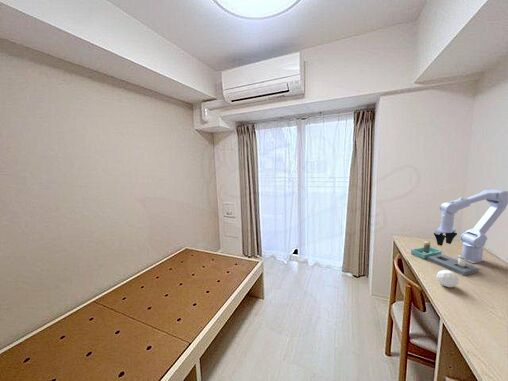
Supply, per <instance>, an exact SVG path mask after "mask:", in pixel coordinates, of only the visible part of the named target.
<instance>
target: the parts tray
mask: <svg viewBox="0 0 508 381" xmlns="http://www.w3.org/2000/svg"><path fill="white" fill-rule="evenodd" d="M423 249H424V246H422V247H417V248H413V249H411V252H410V254H411V255H413V256H416V257H418V258H420V259H422V260H427V257H429V256H434V255H438V254H443V253H442V252H443V251H442V250H440V249H436V248H434V247H432V246H430V251H429V253H428V254H423Z"/></svg>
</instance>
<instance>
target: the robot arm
mask: <svg viewBox="0 0 508 381" xmlns="http://www.w3.org/2000/svg"><path fill="white" fill-rule="evenodd" d="M481 201H486V202H487V204H489V206H490V207H489V208H488V209H487V210H486V211H485V213H484V214H483V215H482V216H481V218H479V220H478V222H477V223H476V224H475V225H474V227H473V228H470V229H467V230H466V231H465V232H463V233H462V234H461V235H460V241H461V242H462V251H461V255H465V256H466V262H469V263H472V264H477V263H481V262H484V259H483V253H484V249H483V247H484V246H486V243H487V240H488V236H487V235H486V233H487V232H488V231H489V230H490V228H491V227H492V226H493V225H494V223H495V222H496V221H497V220H498V219H499V217H500V216H501V215H502V213H503V212H504V211H505V210H506V208H507V206H508V191H507V190H500V189H493V188H487V189H484V190H482V191H481V192H478V193H476V194H474V195H471V196H469V197H462V196H461V197H458V199H455V200H449V202H446V201H445V202H443V203H441V204H440V206H439V210H440V212H441V216H440V223H439V227H437V230H435V232H433V236H434V237H435V240H436V244H437V246H441V247H442V246H443V244H444V241H445V243H446V244H449V245H452V243H453V240H454V239H455V237H456V236H457V235H458V233H457V228H455V227H454V222H455V216H456V215H455V214H457V213H458V212H459V211H460V210H462V209H463V210H464V209H467V208H468V207H470V206H471V205H472V204H474V203H475V204H476V203H478V202H481Z"/></svg>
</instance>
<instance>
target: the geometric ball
mask: <svg viewBox="0 0 508 381" xmlns="http://www.w3.org/2000/svg"><path fill="white" fill-rule="evenodd" d="M436 279H437V281H438V283H439V284H441V285H442V286H443V287H446V288H454V287H455V288H456V286H457V285H458V284H459V277H458V276H457V274H455V273H454V271H452V270H449V269H443V270H439V271H438V272H437V273H436Z"/></svg>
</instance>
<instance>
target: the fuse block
mask: <svg viewBox="0 0 508 381" xmlns="http://www.w3.org/2000/svg"><path fill="white" fill-rule="evenodd" d="M426 261H428V262H431V263H433V264H436V265H437V266H439V267H443V268H445V269H446V270H448V271H451V272H453V273H454V272H455V273H457V274H459V275H461V276H467V275H471V274H475V273H477V272H479V267H477V266H473V265H471V264H469V263H466V262H465V268H464V269H463V268H460V267H458V266H457V264H458V259H456V258H453V257H450V256H448V255H445V254H443V253H441V254H438V255H434V256H429V257H427V259H426Z"/></svg>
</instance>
